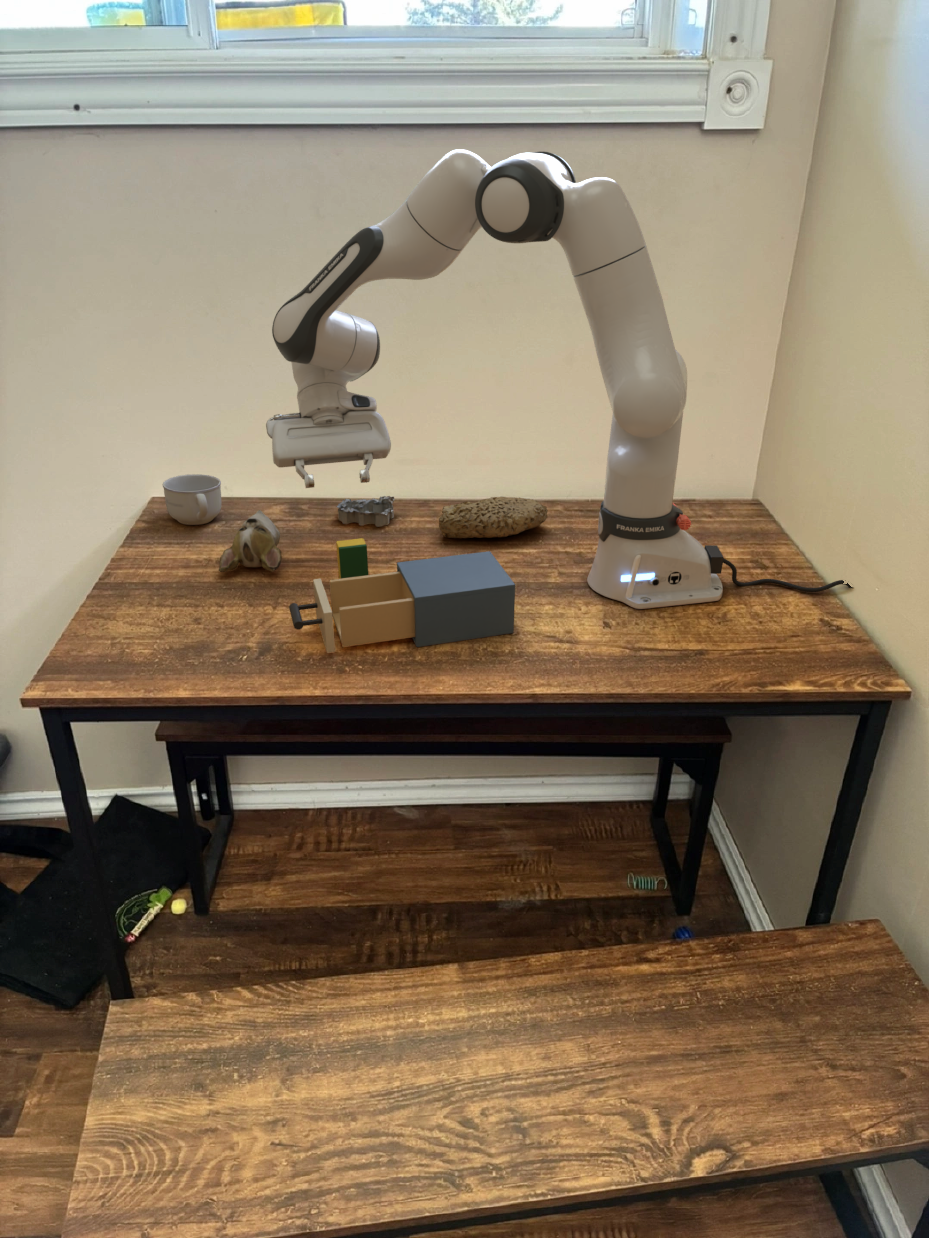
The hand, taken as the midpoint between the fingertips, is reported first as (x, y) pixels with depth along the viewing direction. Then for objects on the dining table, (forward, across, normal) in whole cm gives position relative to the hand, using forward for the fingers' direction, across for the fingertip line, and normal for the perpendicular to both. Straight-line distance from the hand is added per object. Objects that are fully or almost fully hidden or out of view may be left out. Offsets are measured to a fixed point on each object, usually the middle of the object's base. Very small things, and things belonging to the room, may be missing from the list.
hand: (338, 483), depth 149 cm
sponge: (+7, +30, +15) cm, 34 cm away
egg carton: (-3, +8, +24) cm, 26 cm away
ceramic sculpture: (+8, -15, +14) cm, 22 cm away
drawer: (+28, -2, -8) cm, 29 cm away
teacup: (-8, -24, +30) cm, 39 cm away
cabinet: (+28, +13, -7) cm, 32 cm away
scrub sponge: (+19, 0, +3) cm, 19 cm away
